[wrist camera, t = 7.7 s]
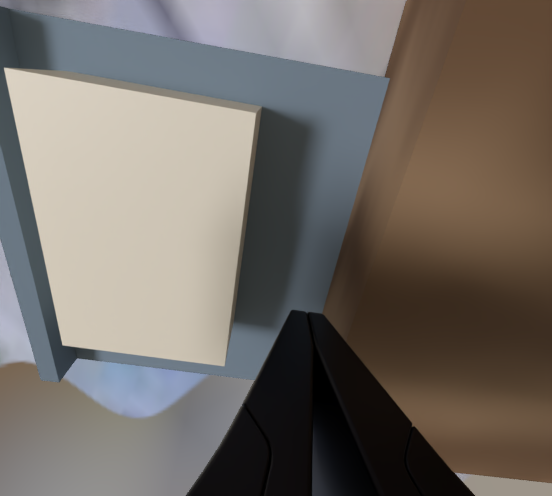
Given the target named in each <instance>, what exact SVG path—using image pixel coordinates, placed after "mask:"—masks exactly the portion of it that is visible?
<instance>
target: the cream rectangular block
mask: <svg viewBox="0 0 552 496" xmlns="http://www.w3.org/2000/svg"><path fill="white" fill-rule="evenodd" d="M4 71H5V76H6V81H7V85H8V90H9V95H10V99H11V104H12V109H13V114H14V118H15V123H16V128H17V133H18V137H19V142H20V147H21V152H22V156H23V161H24V166H25V170H26V175H27V180H28V185H29V189H30V194H31V199H32V204H33V208H34V213H35V218H36V223H37V227H38V232H39V237H40V241H41V246H42V251H43V256H44V260H45V265H46V270H47V275H48V279H49V284H50V289H51V293H52V298H53V303H54V308H55V312H56V317H57V322H58V327H59V331H60V336H61V341H62V345H64V346H71V347H79V348H87V349H94V350H102V351H110V352H117V353H125V354H133V355H140V356H148V357H156V358H163V359H171V360H179V361H186V362H194V363H202V364H209V365H217V366H225V362H226V357H227V352H228V347H229V342H230V337H231V332H232V327H233V323H234V315H235V308H236V300H237V292H238V285H239V277H240V270H241V262H242V254H243V247H244V239H245V232H246V224H247V216H248V209H249V201H250V194H251V186H252V178H253V171H254V163H255V156H256V148H257V140H258V133H259V125H260V117H261V110H262V106H257V105H252V104H246V103H241V102H235V101H230V100H224V99H219V98H213V97H208V96H202V95H197V94H191V93H186V92H180V91H175V90H169V89H164V88H158V87H153V86H147V85H142V84H136V83H131V82H125V81H120V80H114V79H109V78H103V77H98V76H92V75H87V74H81V73H76V72H70V71H57V70H39V69H21V68H4Z"/></svg>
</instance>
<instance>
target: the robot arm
mask: <svg viewBox="0 0 552 496" xmlns="http://www.w3.org/2000/svg"><path fill="white" fill-rule="evenodd" d="M186 496H475V495H474V494H473V493H472V492H471V491H470V490H469V488H468V487H467V486H466V485H465V484H464V483H463V482H462V481H461V480H460V479H459V477H458V476H457V475H456V474H455V473H454V472H453V471H452V470H451V469H450V467H449V466H448V465H447V464H446V463H445V462H444V460H443V459H442V458H441V457H440V456H439V454H438V453H437V452H436V451H435V450H434V449H433V447H432V446H431V445H430V444H429V443H428V441H427V440H426V439H425V438H424V437H423V435H422V434H421V433H420V432H419V430H418V429H417V428H416V427H415V426H413V427H412V422H411V421H410V420H409V418H408V417H407V416H406V415H405V413H404V412H403V411H402V410H401V409H400V407H399V406H398V405H397V404H396V402H395V401H394V400H393V399H392V397H391V396H390V395H389V394H388V393H387V391H386V390H385V389H384V388H383V386H382V385H381V384H380V383H379V382H378V380H377V379H376V378H375V377H374V375H373V374H372V373H371V372H370V370H369V369H368V368H367V367H366V366H365V364H364V363H363V362H362V361H361V359H360V358H359V357H358V356H357V355H356V353H355V352H354V351H353V350H352V348H351V347H350V346H349V345H348V343H347V342H346V341H345V340H344V339H343V337H342V336H341V335H340V334H339V332H338V331H337V330H336V329H335V328H334V326H333V325H332V324H331V323H330V321H329V320H328V319H327V318H326V316H325V315H324V314H322V313H315V312H308V313H307V312H305V311H300V310H291V311H290V313H289V315H288V317H287V319H286V321H285V322H284V324H283V326H282V328H281V330H280V332H279V334H278V336H277V338H276V340H275V342H274V344H273V346H272V348H271V350H270V352H269V353H268V355H267V357H266V359H265V361H264V363H263V365H262V367H261V369H260V371H259V373H258V375H257V377H256V379H255V381H254V383H253V384H252V386H251V388H250V390H249V392H248V394H247V396H246V398H245V400H244V402H243V404H242V406H241V407H240V409H239V411H238V413H237V415H236V417H235V419H234V421H233V423H232V424H231V426H230V428H229V430H228V432H227V433H226V435H225V437H224V439H223V440H222V442H221V444H220V446H219V447H218V449H217V450H216V452H215V453H214V455H213V456H212V458H211V460H210V461H209V462H208V464H207V466H206V467H205V469H204V470H203V472H202V473H201V475H200V476H199V478H198V479H197V480H196V482H195V483H194V485H193V486H192V488H191V489H190V490H189V492H188V493H187V495H186Z"/></svg>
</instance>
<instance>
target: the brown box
mask: <svg viewBox="0 0 552 496" xmlns="http://www.w3.org/2000/svg"><path fill="white" fill-rule="evenodd" d="M385 77H386V78H390V80H389V83H388V87H387V90H386V94H385V97H384V101H383V104H382V108H381V111H380V115H379V118H378V121H377V125H376V128H375V132H374V135H373V139H372V142H371V146H370V149H369V153H368V156H367V160H366V163H365V166H364V170H363V173H362V177H361V180H360V184H359V187H358V191H357V194H356V198H355V201H354V205H353V208H352V212H351V215H350V218H349V222H348V225H347V229H346V232H345V236H344V239H343V243H342V246H341V250H340V253H339V257H338V260H337V263H336V267H335V270H334V274H333V277H332V281H331V284H330V288H329V291H328V295H327V298H326V302H325V305H324V308H323V312H322V314H324V315H325V316H326V318H327V319H328V320H329V321H330V323H331V324H332V325H333V326H334V328H335V329H336V330H337V331H338V332H339V334H340V335H341V336H342V337H343V339H344V340H345V341H346V342H347V343H348V345H349V346H350V347H351V348H352V350H353V351H354V352H355V353H356V355H357V356H358V357H359V358H360V359H361V361H362V362H363V363H364V364H365V366H366V367H367V368H368V369H369V370H370V372H371V373H372V374H373V375H374V377H375V378H376V379H377V380H378V382H379V383H380V384H381V385H382V386H383V388H384V389H385V390H386V391H387V393H388V394H389V395H390V396H391V397H392V399H393V400H394V401H395V402H396V404H397V405H398V406H399V407H400V409H401V410H402V411H403V412H404V413H405V415H406V416H407V417H408V418H409V420H410V421H411V422H412V427H413V426H415V427H416V428H417V429H418V430H419V432H420V433H421V434H422V435H423V437H424V438H425V439H426V440H427V441H428V443H429V444H430V445H431V446H432V447H433V449H434V450H435V451H436V452H437V453H438V454H439V456H440V457H441V458H442V459H443V460H444V462H445V463H446V464H447V465H448V466H449V467H450V469H451V470H452V471H453V472H456V473H465V474H474V475H483V476H492V477H501V478H510V479H519V480H529V481H537V482H547V483H552V0H407V1H406V3H405V7H404V10H403V14H402V17H401V21H400V24H399V28H398V32H397V35H396V39H395V42H394V46H393V49H392V53H391V56H390V60H389V64H388V67H387V71H386V74H385Z"/></svg>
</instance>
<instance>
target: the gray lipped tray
mask: <svg viewBox="0 0 552 496" xmlns="http://www.w3.org/2000/svg"><path fill="white" fill-rule="evenodd" d="M4 68H21V69H39V70H57V71H70V72H76V73H81V74H87V75H92V76H98V77H103V78H109V79H114V80H120V81H125V82H131V83H136V84H142V85H147V86H153V87H158V88H164V89H169V90H175V91H180V92H186V93H191V94H197V95H202V96H208V97H213V98H219V99H224V100H230V101H235V102H241V103H246V104H252V105H257V106H262V110H261V117H260V125H259V133H258V140H257V148H256V156H255V163H254V171H253V178H252V186H251V194H250V201H249V209H248V216H247V224H246V232H245V239H244V247H243V254H242V262H241V270H240V277H239V285H238V292H237V300H236V308H235V315H234V323H233V327H232V332H231V337H230V342H229V347H228V352H227V357H226V362H225V366H217V365H209V364H202V363H194V362H186V361H179V360H171V359H163V358H156V357H148V356H140V355H133V354H125V353H117V352H110V351H102V350H94V349H87V348H79V347H71V346H64V345H62V341H61V336H60V331H59V327H58V322H57V317H56V312H55V308H54V303H53V298H52V293H51V289H50V284H49V279H48V275H47V270H46V265H45V260H44V256H43V251H42V246H41V241H40V237H39V232H38V227H37V223H36V218H35V213H34V208H33V204H32V199H31V194H30V189H29V185H28V180H27V175H26V170H25V166H24V161H23V156H22V152H21V147H20V142H19V137H18V133H17V128H16V123H15V118H14V114H13V109H12V104H11V99H10V95H9V90H8V85H7V81H6V76H5V71H4ZM389 80H390V78H386V77H381V76H375V75H370V74H364V73H359V72H353V71H348V70H342V69H337V68H331V67H326V66H320V65H315V64H309V63H304V62H298V61H293V60H287V59H282V58H276V57H271V56H266V55H260V54H255V53H249V52H244V51H238V50H233V49H227V48H222V47H216V46H211V45H205V44H200V43H194V42H189V41H183V40H178V39H172V38H167V37H162V36H156V35H151V34H145V33H140V32H134V31H129V30H123V29H118V28H112V27H107V26H101V25H96V24H90V23H85V22H79V21H74V20H68V19H63V18H57V17H52V16H47V15H41V14H36V13H30V12H25V11H19V10H14V9H8V8H5V7H1V6H0V239H1V243H2V246H3V250H4V253H5V257H6V260H7V264H8V267H9V271H10V274H11V277H12V281H13V284H14V288H15V291H16V295H17V298H18V302H19V305H20V309H21V312H22V316H23V319H24V323H25V326H26V330H27V333H28V337H29V340H30V344H31V347H32V351H33V354H34V358H35V361H36V365H37V368H38V372H39V375H40V379H41V380H44V381H52V382H60V380H61V379H62V378H63V376H64V375H65V374H66V372H67V371H68V370H69V368H70V367H71V366H72V364H73V363H74V362H75V360H76V359H77V358H79V359H88V360H96V361H104V362H112V363H120V364H128V365H136V366H144V367H153V368H161V369H169V370H177V371H185V372H193V373H201V374H209V375H217V376H226V377H234V378H242V379H250V380H255V379H256V377H257V375H258V373H259V371H260V369H261V367H262V365H263V363H264V361H265V359H266V357H267V355H268V353H269V352H270V350H271V348H272V346H273V344H274V342H275V340H276V338H277V336H278V334H279V332H280V330H281V328H282V326H283V324H284V322H285V321H286V319H287V317H288V315H289V313H290V311H291V310H300V311H305V312H307V313H308V312H315V313H322V312H323V308H324V305H325V302H326V298H327V295H328V291H329V288H330V284H331V281H332V277H333V274H334V270H335V267H336V263H337V260H338V257H339V253H340V250H341V246H342V243H343V239H344V236H345V232H346V229H347V225H348V222H349V218H350V215H351V212H352V208H353V205H354V201H355V198H356V194H357V191H358V187H359V184H360V180H361V177H362V173H363V170H364V166H365V163H366V160H367V156H368V153H369V149H370V146H371V142H372V139H373V135H374V132H375V128H376V125H377V121H378V118H379V115H380V111H381V108H382V104H383V101H384V97H385V94H386V90H387V87H388V83H389Z"/></svg>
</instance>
